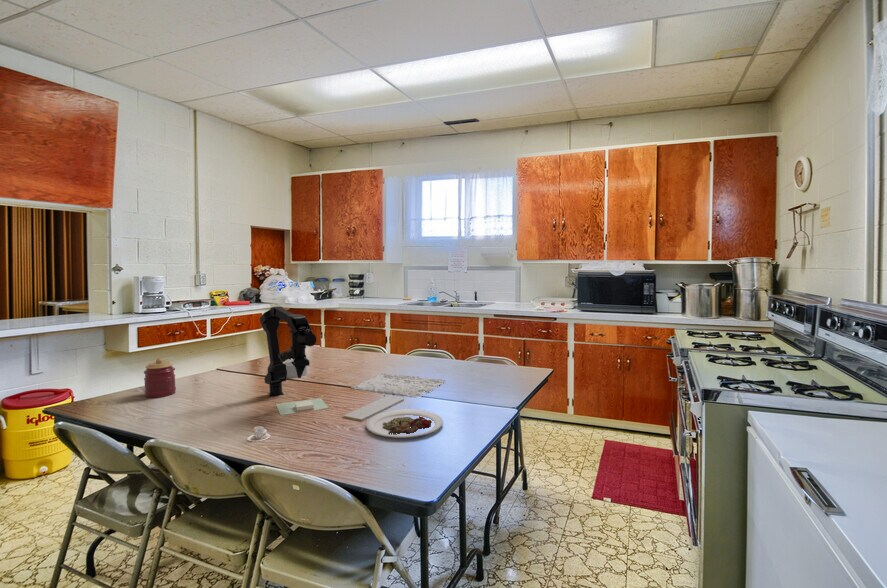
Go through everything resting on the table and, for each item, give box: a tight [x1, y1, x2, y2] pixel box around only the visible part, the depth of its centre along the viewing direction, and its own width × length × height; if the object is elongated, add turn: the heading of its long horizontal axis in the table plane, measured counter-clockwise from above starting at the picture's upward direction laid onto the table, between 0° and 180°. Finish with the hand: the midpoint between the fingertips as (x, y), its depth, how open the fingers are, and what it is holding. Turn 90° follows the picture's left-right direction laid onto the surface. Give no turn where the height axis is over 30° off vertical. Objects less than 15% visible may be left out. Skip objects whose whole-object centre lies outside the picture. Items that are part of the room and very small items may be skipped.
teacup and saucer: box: [246, 426, 271, 443], centre depth 169 cm, size 9×8×4 cm
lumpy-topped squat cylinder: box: [283, 359, 308, 379], centre depth 258 cm, size 10×13×9 cm
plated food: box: [365, 408, 444, 439], centre depth 179 cm, size 30×30×3 cm
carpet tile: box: [350, 373, 446, 398], centre depth 237 cm, size 39×30×2 cm
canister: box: [143, 358, 177, 399], centre depth 223 cm, size 13×13×18 cm
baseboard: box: [341, 394, 405, 422], centre depth 201 cm, size 31×3×12 cm
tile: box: [294, 399, 314, 412], centre depth 200 cm, size 2×7×7 cm
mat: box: [275, 397, 329, 416], centre depth 203 cm, size 16×20×1 cm
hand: (299, 377), depth 206 cm, fingers closed
